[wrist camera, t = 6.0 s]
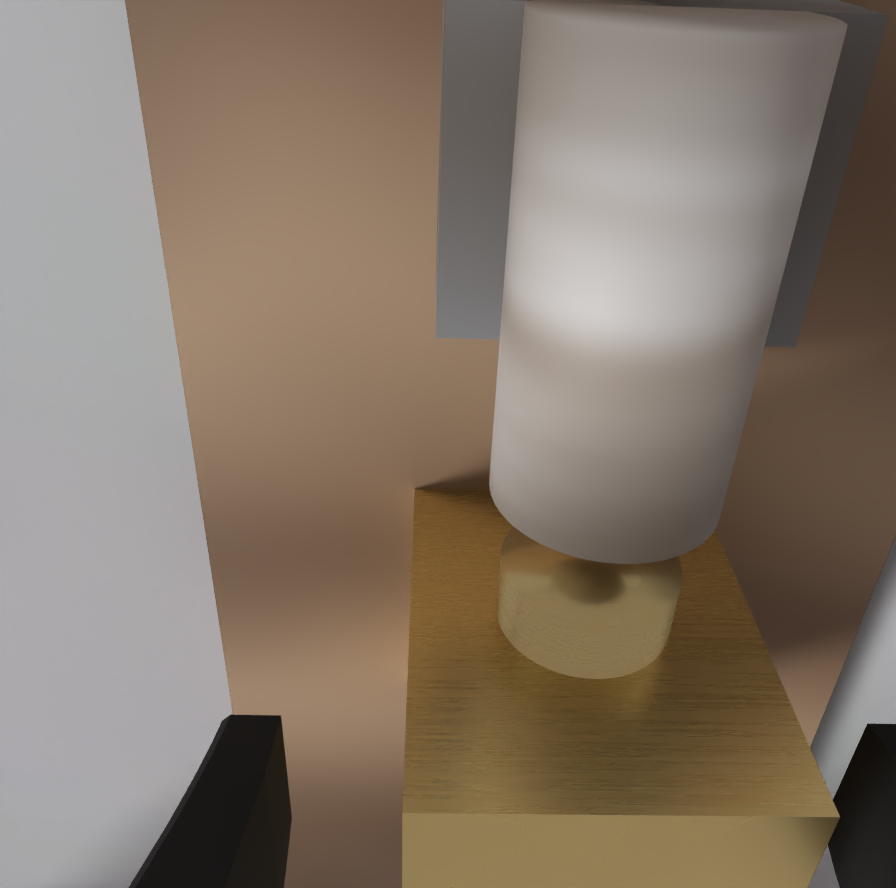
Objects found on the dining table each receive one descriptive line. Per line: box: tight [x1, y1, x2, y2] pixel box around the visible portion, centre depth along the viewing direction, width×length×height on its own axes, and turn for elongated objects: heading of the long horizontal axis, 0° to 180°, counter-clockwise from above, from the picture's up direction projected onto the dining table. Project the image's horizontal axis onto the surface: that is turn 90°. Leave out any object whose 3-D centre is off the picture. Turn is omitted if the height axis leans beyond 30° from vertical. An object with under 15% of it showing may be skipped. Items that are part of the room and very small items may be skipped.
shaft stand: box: [125, 0, 896, 888], centre depth 12 cm, size 22×10×5 cm, turn 178°
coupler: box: [402, 488, 840, 888], centre depth 11 cm, size 6×4×5 cm
